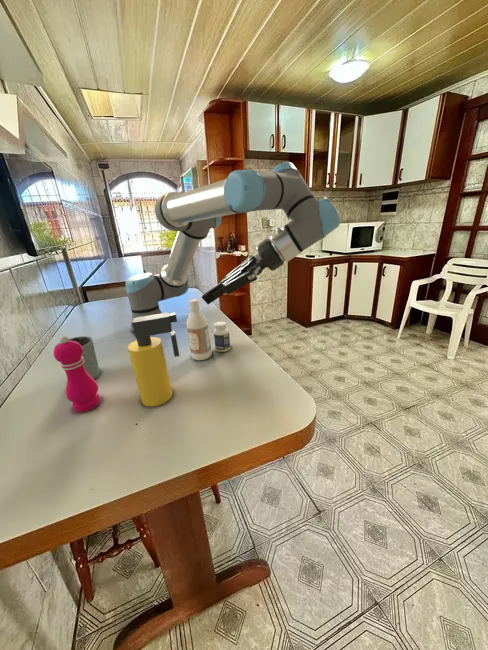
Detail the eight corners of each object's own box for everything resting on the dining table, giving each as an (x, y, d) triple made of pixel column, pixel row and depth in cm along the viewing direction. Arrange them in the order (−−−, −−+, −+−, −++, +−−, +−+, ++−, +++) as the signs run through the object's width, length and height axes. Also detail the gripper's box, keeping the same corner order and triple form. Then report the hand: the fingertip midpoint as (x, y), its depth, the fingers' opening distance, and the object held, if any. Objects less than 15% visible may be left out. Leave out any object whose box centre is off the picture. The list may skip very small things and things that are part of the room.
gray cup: (104, 365, 90) (94, 333, 86) (100, 381, 81) (89, 346, 77) (70, 373, 87) (58, 340, 83) (63, 390, 78) (48, 354, 74)
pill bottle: (227, 353, 92) (224, 327, 89) (213, 351, 94) (209, 326, 90) (232, 346, 97) (230, 321, 93) (219, 344, 99) (216, 320, 95)
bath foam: (187, 358, 91) (177, 302, 83) (200, 349, 96) (192, 296, 89) (203, 362, 87) (195, 304, 80) (215, 353, 93) (208, 298, 85)
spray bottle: (142, 391, 75) (122, 316, 66) (187, 381, 78) (174, 308, 69) (141, 409, 67) (119, 328, 59) (191, 397, 71) (176, 318, 62)
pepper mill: (68, 416, 67) (39, 345, 59) (76, 399, 73) (51, 333, 66) (99, 409, 69) (75, 339, 61) (104, 393, 75) (83, 328, 68)
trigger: (174, 351, 71) (170, 331, 68) (178, 351, 71) (174, 330, 69) (174, 356, 68) (170, 335, 66) (179, 355, 68) (175, 334, 66)
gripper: (267, 231, 70) (200, 280, 78) (270, 245, 59) (191, 300, 67) (282, 253, 73) (216, 299, 81) (288, 271, 62) (210, 321, 70)
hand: (205, 299), depth 74 cm, fingers closed
